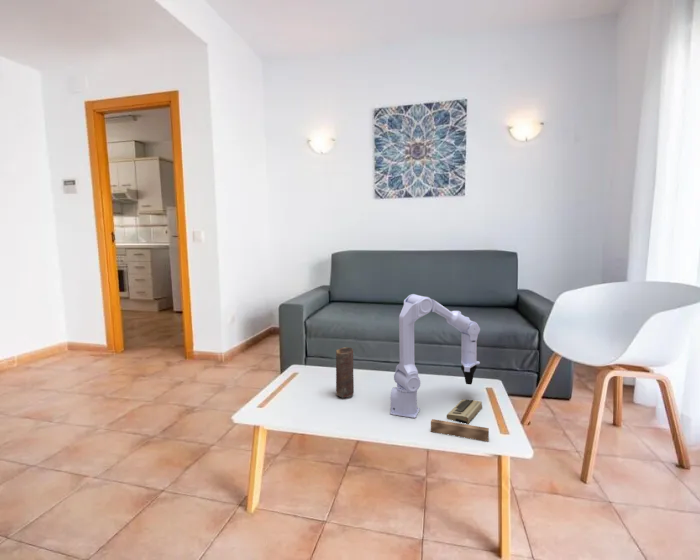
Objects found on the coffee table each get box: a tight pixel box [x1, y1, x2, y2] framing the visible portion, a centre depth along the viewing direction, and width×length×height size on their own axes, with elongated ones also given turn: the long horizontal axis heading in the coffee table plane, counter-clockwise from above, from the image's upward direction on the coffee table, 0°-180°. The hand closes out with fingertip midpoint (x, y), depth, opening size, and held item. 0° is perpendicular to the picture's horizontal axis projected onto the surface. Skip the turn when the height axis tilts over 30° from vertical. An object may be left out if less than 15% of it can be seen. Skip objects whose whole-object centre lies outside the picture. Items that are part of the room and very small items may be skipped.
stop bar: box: [430, 418, 490, 442], centre depth 122 cm, size 18×2×4 cm, turn 67°
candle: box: [335, 346, 355, 399], centre depth 155 cm, size 8×7×20 cm
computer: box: [446, 399, 483, 425], centre depth 137 cm, size 16×8×3 cm, turn 144°
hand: (468, 383), depth 149 cm, fingers closed
